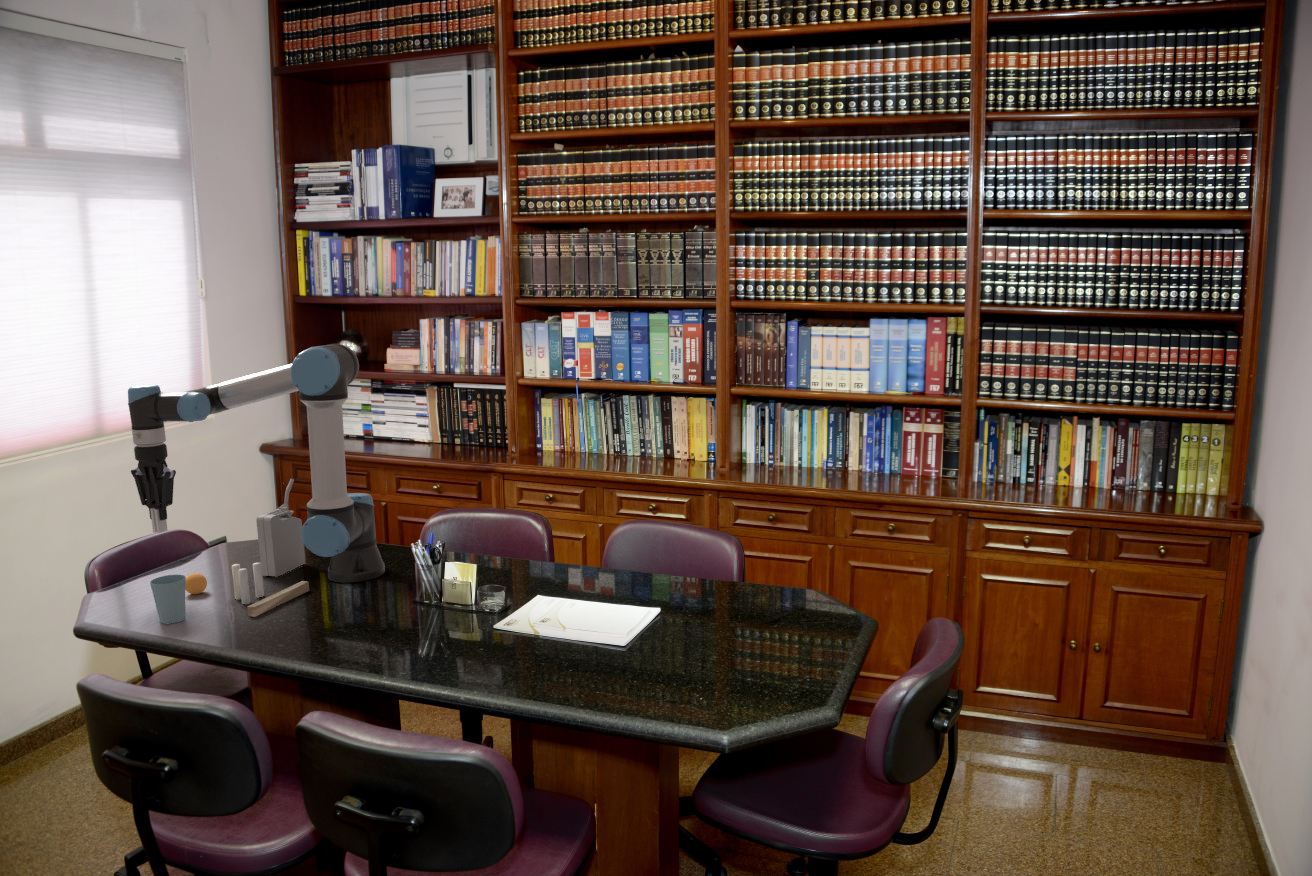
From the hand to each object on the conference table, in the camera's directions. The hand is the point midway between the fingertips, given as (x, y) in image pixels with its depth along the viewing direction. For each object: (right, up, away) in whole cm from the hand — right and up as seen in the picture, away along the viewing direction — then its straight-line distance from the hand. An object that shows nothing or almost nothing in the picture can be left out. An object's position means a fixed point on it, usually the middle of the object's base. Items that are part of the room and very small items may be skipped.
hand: (160, 531), depth 247 cm
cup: (+13, -20, -19) cm, 31 cm away
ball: (+10, -14, -1) cm, 17 cm away
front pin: (+23, -17, -5) cm, 29 cm away
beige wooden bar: (+35, -17, -9) cm, 40 cm away
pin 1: (+27, -18, -9) cm, 33 cm away
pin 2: (+28, -17, -4) cm, 33 cm away
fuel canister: (+26, -13, +19) cm, 35 cm away
